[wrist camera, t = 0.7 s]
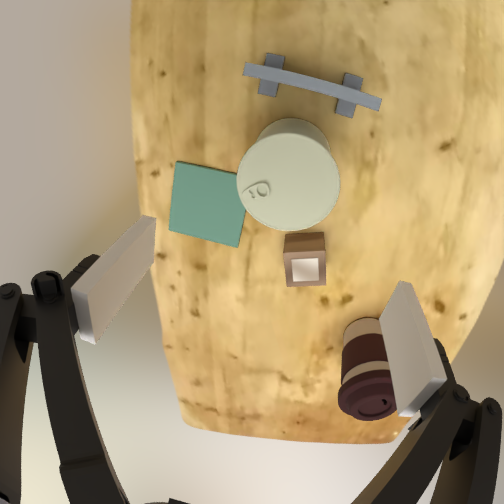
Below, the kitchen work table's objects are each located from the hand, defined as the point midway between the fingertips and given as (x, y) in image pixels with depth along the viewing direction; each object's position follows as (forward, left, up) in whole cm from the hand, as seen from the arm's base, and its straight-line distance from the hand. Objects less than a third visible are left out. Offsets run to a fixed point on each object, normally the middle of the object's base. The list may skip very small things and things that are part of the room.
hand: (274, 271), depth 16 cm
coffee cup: (+24, +19, -25) cm, 39 cm away
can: (0, 0, -25) cm, 25 cm away
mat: (+9, -9, -25) cm, 28 cm away
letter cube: (+12, +5, -25) cm, 28 cm away
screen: (-9, 0, -25) cm, 26 cm away
